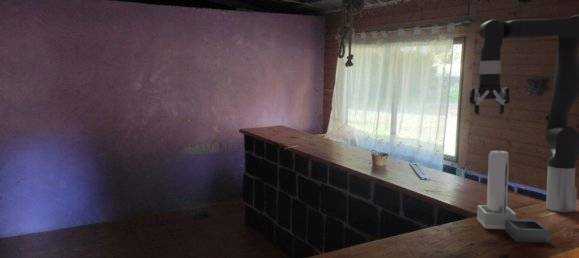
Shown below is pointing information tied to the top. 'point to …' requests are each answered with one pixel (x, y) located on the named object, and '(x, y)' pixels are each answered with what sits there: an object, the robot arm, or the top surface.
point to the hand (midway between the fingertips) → (488, 114)
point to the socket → (527, 231)
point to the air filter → (497, 182)
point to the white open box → (494, 218)
